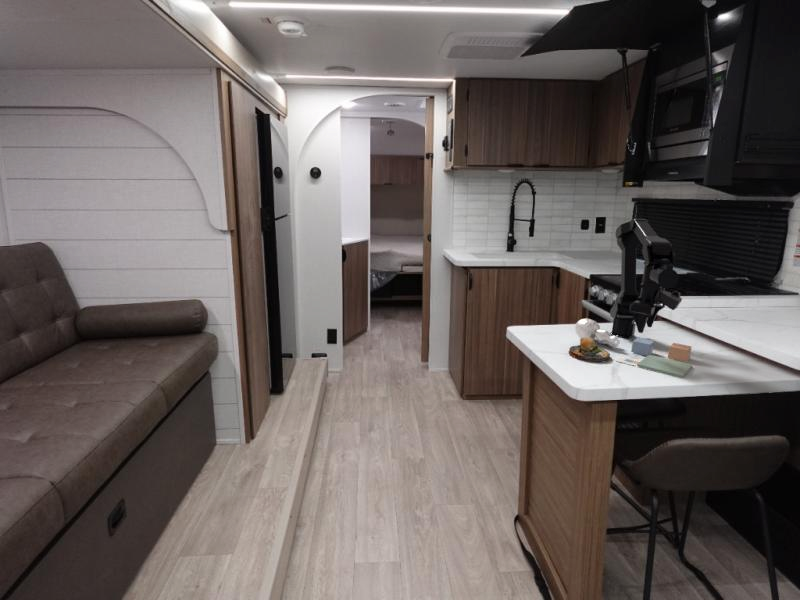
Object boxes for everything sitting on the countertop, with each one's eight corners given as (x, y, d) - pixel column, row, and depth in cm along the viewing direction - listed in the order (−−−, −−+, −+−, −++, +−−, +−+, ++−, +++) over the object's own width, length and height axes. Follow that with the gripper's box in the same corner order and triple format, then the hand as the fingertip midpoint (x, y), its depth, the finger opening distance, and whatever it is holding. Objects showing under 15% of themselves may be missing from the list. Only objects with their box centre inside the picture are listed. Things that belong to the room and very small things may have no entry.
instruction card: (616, 361, 149) (616, 360, 149) (622, 356, 154) (622, 356, 154) (644, 368, 144) (644, 367, 144) (650, 363, 148) (650, 362, 148)
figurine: (618, 327, 157) (580, 308, 168) (602, 344, 156) (566, 323, 168) (625, 344, 164) (589, 324, 175) (610, 360, 163) (575, 339, 175)
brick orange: (667, 358, 154) (669, 346, 153) (671, 354, 157) (673, 342, 157) (685, 362, 151) (687, 350, 150) (689, 358, 154) (691, 346, 153)
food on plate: (617, 362, 149) (620, 338, 147) (582, 364, 147) (585, 340, 145) (593, 349, 161) (596, 327, 159) (561, 350, 158) (563, 328, 156)
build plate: (637, 366, 145) (637, 364, 145) (649, 356, 154) (649, 354, 154) (682, 378, 138) (682, 375, 137) (692, 367, 146) (692, 364, 146)
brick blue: (631, 352, 158) (632, 340, 157) (635, 349, 162) (637, 337, 161) (647, 356, 155) (649, 344, 154) (652, 352, 159) (654, 341, 158)
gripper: (673, 290, 141) (664, 342, 145) (688, 281, 155) (680, 329, 158) (632, 284, 148) (625, 333, 152) (650, 276, 162) (643, 322, 165)
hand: (645, 329), depth 157 cm, fingers open, 9 cm apart
